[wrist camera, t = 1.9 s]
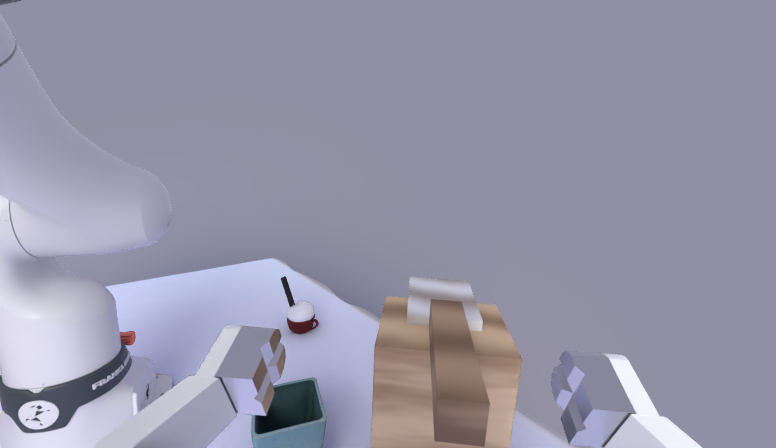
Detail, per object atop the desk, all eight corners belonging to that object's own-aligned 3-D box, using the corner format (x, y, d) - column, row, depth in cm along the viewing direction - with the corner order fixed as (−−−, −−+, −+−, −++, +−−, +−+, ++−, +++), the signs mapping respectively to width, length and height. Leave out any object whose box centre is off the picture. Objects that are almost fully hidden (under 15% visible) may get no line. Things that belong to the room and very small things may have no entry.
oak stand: (377, 484, 44) (386, 296, 38) (472, 496, 43) (495, 304, 37) (365, 580, 34) (374, 346, 29) (488, 598, 33) (522, 359, 28)
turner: (409, 284, 42) (410, 262, 41) (467, 288, 41) (469, 266, 41) (397, 437, 20) (400, 394, 19) (523, 451, 19) (529, 407, 18)
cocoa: (322, 333, 80) (325, 285, 77) (298, 342, 75) (301, 291, 73) (299, 317, 86) (301, 272, 83) (276, 324, 81) (278, 277, 79)
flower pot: (254, 442, 49) (251, 388, 47) (316, 427, 52) (315, 375, 51) (254, 500, 41) (251, 438, 39) (327, 478, 44) (327, 419, 43)
